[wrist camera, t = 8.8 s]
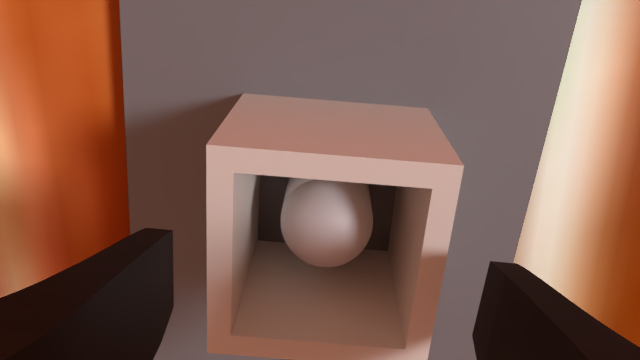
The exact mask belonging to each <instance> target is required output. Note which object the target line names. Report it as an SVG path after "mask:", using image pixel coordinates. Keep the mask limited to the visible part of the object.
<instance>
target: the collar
mask: <svg viewBox="0 0 640 360" xmlns="http://www.w3.org/2000/svg"><path fill="white" fill-rule="evenodd" d="M463 169H464V165H463V163H462V161H461V160H460V158H459V157H458V155H457V154H456V152H455V150H454V149H453V147H452V146H451V144H450V143H449V141H448V139H447V138H446V136H445V135H444V133H443V132H442V130H441V128H440V127H439V125H438V124H437V122H436V121H435V119H434V117H433V116H432V114H431V113H430V111H429V110H428V108H419V107H406V106H394V105H382V104H369V103H357V102H345V101H332V100H320V99H308V98H296V97H283V96H271V95H259V94H246V93H243V94H242V96H241V97H240V99H239V100H238V101H237V103H236V104H235V106H234V107H233V108H232V110H231V111H230V112H229V114H228V115H227V117H226V118H225V119H224V121H223V122H222V124H221V125H220V126H219V128H218V129H217V130H216V132H215V133H214V135H213V136H212V137H211V139H210V140H209V142H208V143H207V144H206V219H207V353H215V354H227V355H240V356H252V357H265V358H277V359H290V360H428V355H429V349H430V344H431V339H432V334H433V328H434V323H435V318H436V312H437V307H438V302H439V296H440V291H441V286H442V281H443V275H444V270H445V265H446V259H447V254H448V249H449V244H450V238H451V233H452V228H453V222H454V217H455V212H456V206H457V201H458V196H459V191H460V185H461V180H462V175H463ZM260 175H267V176H279V177H292V178H304V179H317V180H329V181H341V182H354V183H366V184H378V185H391V186H397V188H396V195H395V202H394V209H393V216H392V223H391V230H390V237H389V245H388V251H382V250H370V249H363V251H362V252H361V253H360V254H359V255H358V256H357V257H355V258H354V259H353V260H351V261H349V262H348V263H345V264H343V265H340V266H336V267H328V268H327V267H317V266H313V265H311V264H308V263H306V262H304V261H302V260H301V259H300V258H298V257H297V256H296V255H295V254H294V253H293V252H292V251H291V250H290V249H289V247H288V245H287V244H286V243H283V242H270V241H258V222H259V194H260Z"/></svg>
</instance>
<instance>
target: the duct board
mask: <svg viewBox="0 0 640 360" xmlns="http://www.w3.org/2000/svg"><path fill="white" fill-rule="evenodd" d="M581 1H582V0H119V6H120V28H121V49H122V71H123V93H124V114H125V136H126V157H127V179H128V200H129V222H130V235H132V234H133V233H135V232H137V231H139V230H142V229H144V228H155V229H166V230H173V281H174V307H173V310H172V313H171V316H170V319H169V322H168V325H167V328H166V331H165V334H164V336H163V339H162V342H161V344H160V346H159V349H158V351H157V353H156V355H155V357H154V359H153V360H290V359H277V358H265V357H252V356H240V355H227V354H215V353H207V219H206V144H207V143H208V142H209V140H210V139H211V137H212V136H213V135H214V133H215V132H216V130H217V129H218V128H219V126H220V125H221V124H222V122H223V121H224V119H225V118H226V117H227V115H228V114H229V112H230V111H231V110H232V108H233V107H234V106H235V104H236V103H237V101H238V100H239V99H240V97H241V96H242V94H243V93H246V94H259V95H271V96H283V97H296V98H308V99H320V100H332V101H345V102H357V103H369V104H382V105H394V106H406V107H419V108H428V110H429V111H430V113H431V114H432V116H433V117H434V119H435V121H436V122H437V124H438V125H439V127H440V128H441V130H442V132H443V133H444V135H445V136H446V138H447V139H448V141H449V143H450V144H451V146H452V147H453V149H454V150H455V152H456V154H457V155H458V157H459V158H460V160H461V161H462V163H463V165H464V169H463V175H462V180H461V185H460V191H459V196H458V201H457V206H456V212H455V217H454V222H453V228H452V233H451V238H450V244H449V249H448V254H447V259H446V265H445V270H444V275H443V281H442V286H441V291H440V296H439V302H438V307H437V312H436V318H435V323H434V328H433V334H432V339H431V344H430V349H429V355H428V360H477V358H476V353H475V348H474V343H473V338H472V333H473V329H474V325H475V321H476V317H477V313H478V308H479V304H480V300H481V296H482V292H483V288H484V284H485V280H486V275H487V271H488V267H489V263H490V261H495V262H505V263H513V261H514V257H515V253H516V249H517V245H518V242H519V238H520V234H521V230H522V226H523V222H524V219H525V215H526V211H527V207H528V203H529V200H530V196H531V192H532V188H533V184H534V180H535V177H536V173H537V169H538V165H539V161H540V158H541V154H542V150H543V146H544V142H545V138H546V135H547V131H548V127H549V123H550V119H551V116H552V112H553V108H554V104H555V100H556V96H557V93H558V89H559V85H560V81H561V77H562V73H563V70H564V66H565V62H566V58H567V54H568V51H569V47H570V43H571V39H572V35H573V31H574V28H575V24H576V20H577V16H578V12H579V9H580V5H581ZM396 188H397V186H391V185H378V184H366V183H354V182H341V181H329V180H317V179H304V178H292V177H279V176H267V175H260V194H259V222H258V241H270V242H283V243H286V244H287V245H288V247H289V249H290V250H291V251H292V252H293V253H294V254H295V255H296V256H297V257H298V258H300V259H301V260H302V261H304V262H306V263H308V264H311V265H313V266H317V267H327V268H328V267H336V266H340V265H343V264H345V263H348V262H349V261H351V260H353V259H354V258H355V257H357V256H358V255H359V254H360V253H361V252H362V251H363V249H370V250H382V251H388V245H389V237H390V230H391V223H392V216H393V209H394V202H395V195H396Z"/></svg>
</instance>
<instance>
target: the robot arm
mask: <svg viewBox="0 0 640 360" xmlns="http://www.w3.org/2000/svg"><path fill="white" fill-rule="evenodd" d="M173 307H174V281H173V230H166V229H155V228H144V229H142V230H139V231H137V232H135V233H133V234H132V235H130V236H128V237H126V238H124V239H122V240H120V241H119V242H117V243H115V244H113V245H111V246H110V247H108V248H106V249H104V250H102V251H100V252H99V253H97V254H95V255H93V256H91V257H89V258H87V259H86V260H84V261H82V262H80V263H78V264H76V265H74V266H72V267H70V268H68V269H66V270H64V271H62V272H59V273H57V274H55V275H53V276H51V277H49V278H47V279H45V280H43V281H41V282H39V283H36V284H34V285H32V286H29V287H27V288H25V289H22V290H20V291H17V292H15V293H12V294H10V295H7V296H4V297H2V298H0V360H153V359H154V357H155V355H156V353H157V351H158V349H159V346H160V344H161V342H162V339H163V336H164V334H165V331H166V328H167V325H168V322H169V319H170V316H171V313H172V310H173ZM472 338H473V343H474V348H475V353H476V358H477V360H640V347H638V346H636V345H635V344H633V343H631V342H630V341H628V340H627V339H625V338H624V337H622V336H621V335H619V334H617V333H616V332H614V331H613V330H611V329H610V328H608V327H607V326H605V325H604V324H602V323H601V322H599V321H598V320H596V319H595V318H594V317H592V316H591V315H589V314H588V313H586V312H585V311H584V310H582V309H581V308H579V307H578V306H577V305H575V304H574V303H572V302H571V301H570V300H568V299H567V298H566V297H564V296H563V295H562V294H560V293H559V292H557V291H556V290H555V289H553V288H552V287H551V286H549V285H548V284H547V283H545V282H544V281H542V280H541V279H540V278H538V277H537V276H535V275H534V274H533V273H531V272H530V271H528V270H527V269H525V268H524V267H522V266H520V265H518V264H515V263H505V262H495V261H490V263H489V267H488V271H487V275H486V280H485V284H484V288H483V292H482V296H481V300H480V304H479V308H478V313H477V317H476V321H475V325H474V329H473V333H472Z"/></svg>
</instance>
